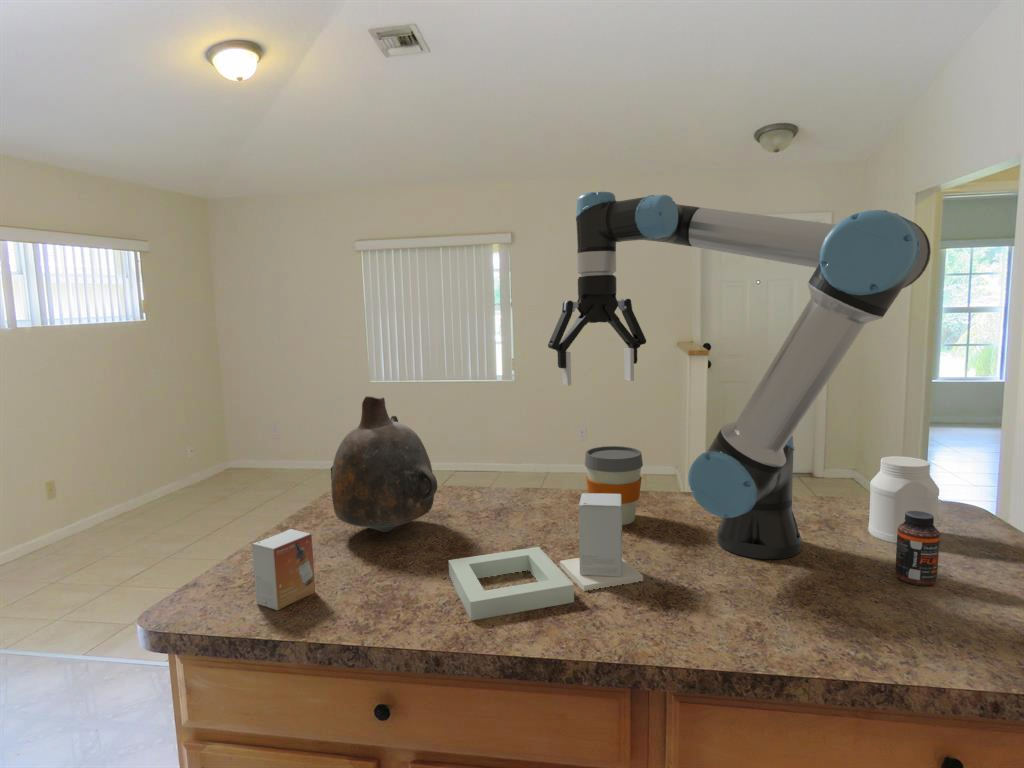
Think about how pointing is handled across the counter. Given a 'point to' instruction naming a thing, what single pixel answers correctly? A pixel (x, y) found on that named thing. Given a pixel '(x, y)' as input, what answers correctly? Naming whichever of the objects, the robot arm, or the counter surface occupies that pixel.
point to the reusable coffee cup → (616, 475)
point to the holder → (514, 598)
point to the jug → (381, 472)
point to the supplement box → (600, 534)
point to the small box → (283, 569)
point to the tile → (599, 581)
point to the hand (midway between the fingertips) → (598, 382)
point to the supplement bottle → (917, 549)
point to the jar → (900, 495)
